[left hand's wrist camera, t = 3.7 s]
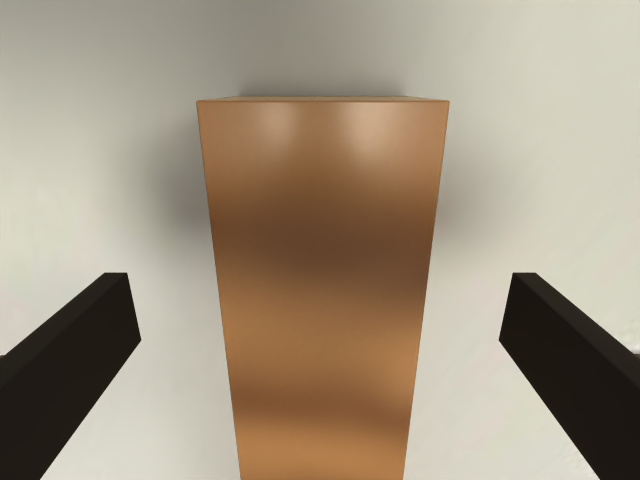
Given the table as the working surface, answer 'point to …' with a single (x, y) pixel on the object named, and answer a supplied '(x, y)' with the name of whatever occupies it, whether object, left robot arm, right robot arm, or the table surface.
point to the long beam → (322, 274)
